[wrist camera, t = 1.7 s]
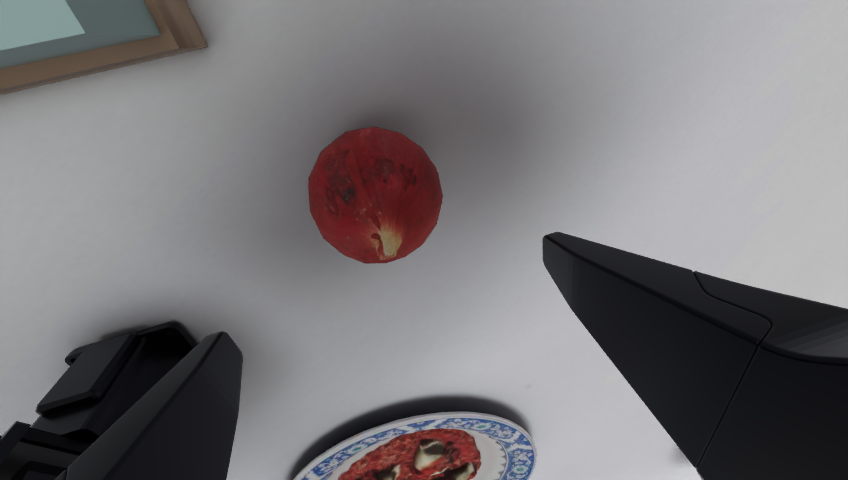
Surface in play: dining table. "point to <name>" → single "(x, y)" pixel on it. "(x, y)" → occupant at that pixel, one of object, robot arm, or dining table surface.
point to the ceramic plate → (431, 451)
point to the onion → (374, 195)
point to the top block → (68, 27)
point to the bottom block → (113, 50)
